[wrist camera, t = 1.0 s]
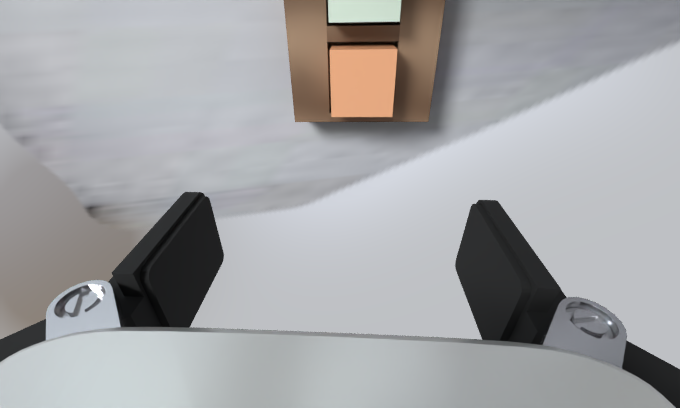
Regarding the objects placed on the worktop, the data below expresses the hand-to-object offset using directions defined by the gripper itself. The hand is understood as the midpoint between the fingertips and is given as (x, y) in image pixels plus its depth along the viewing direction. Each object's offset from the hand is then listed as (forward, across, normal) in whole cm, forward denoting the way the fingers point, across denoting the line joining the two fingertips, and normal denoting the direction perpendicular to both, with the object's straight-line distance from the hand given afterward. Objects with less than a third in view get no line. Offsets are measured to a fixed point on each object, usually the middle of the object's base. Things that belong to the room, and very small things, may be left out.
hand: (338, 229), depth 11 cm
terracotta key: (+17, -1, -2) cm, 18 cm away
